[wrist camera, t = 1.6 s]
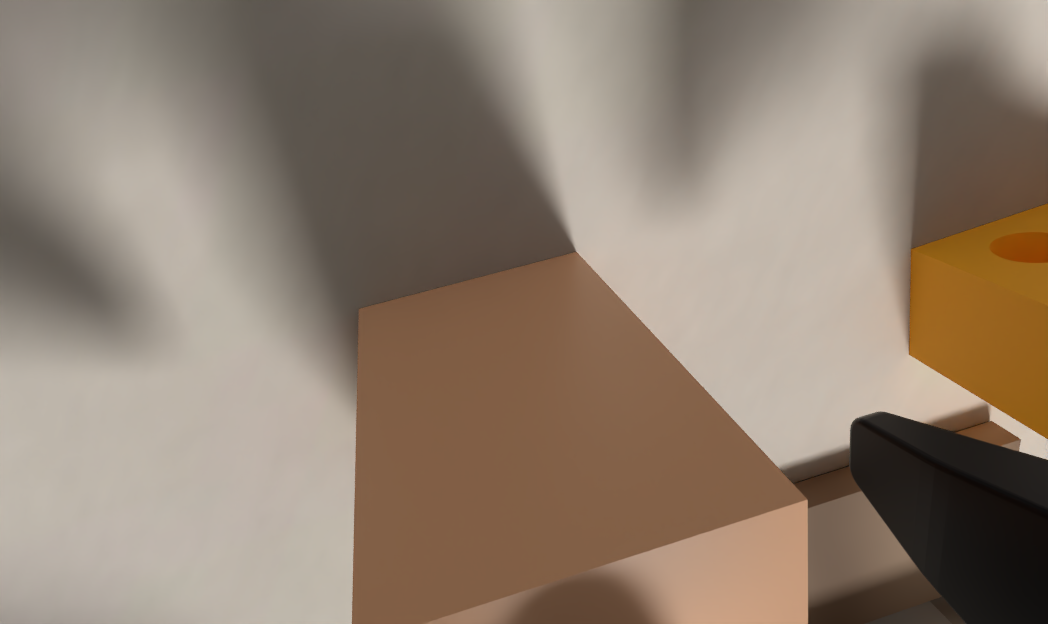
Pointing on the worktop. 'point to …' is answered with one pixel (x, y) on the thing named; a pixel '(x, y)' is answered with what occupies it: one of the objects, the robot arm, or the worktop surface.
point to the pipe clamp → (987, 313)
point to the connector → (556, 468)
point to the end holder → (869, 555)
